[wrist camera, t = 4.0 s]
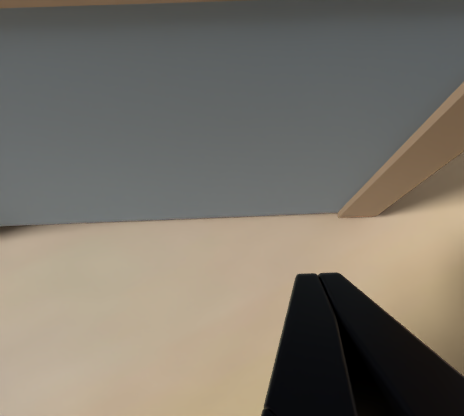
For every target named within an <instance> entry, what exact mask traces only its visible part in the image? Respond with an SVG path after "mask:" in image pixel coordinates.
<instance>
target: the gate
mask: <svg viewBox="0 0 464 416" xmlns="http://www.w3.org/2000/svg"><path fill="white" fill-rule="evenodd" d="M463 151H464V0H0V226H18V225H43V224H68V223H93V222H118V221H143V220H168V219H193V218H217V217H242V216H267V215H292V214H317V213H338V218H348V217H373V216H377V215H378V214H380V213H381V212H382V211H384V210H385V209H386V208H388V207H389V206H391V205H392V204H393V203H395V202H396V201H397V200H399V199H400V198H401V197H403V196H404V195H405V194H407V193H408V192H409V191H411V190H412V189H413V188H415V187H416V186H417V185H419V184H420V183H422V182H423V181H424V180H426V179H427V178H428V177H430V176H431V175H432V174H434V173H435V172H436V171H438V170H439V169H440V168H442V167H443V166H444V165H446V164H447V163H449V162H450V161H451V160H453V159H454V158H455V157H457V156H458V155H459V154H461V153H462V152H463Z"/></svg>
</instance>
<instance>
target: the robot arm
mask: <svg viewBox="0 0 464 416" xmlns="http://www.w3.org/2000/svg"><path fill="white" fill-rule="evenodd" d="M261 416H464V376H463V375H461V374H460V373H459V372H458V371H457V370H455V369H454V368H453V367H452V366H451V365H449V364H448V363H447V362H446V361H445V360H443V359H442V358H441V357H440V356H439V355H437V354H436V353H435V352H434V351H433V350H431V349H430V348H429V347H428V346H427V345H425V344H424V343H423V342H422V341H421V340H419V339H418V338H417V337H416V336H415V335H413V334H412V333H411V332H410V331H409V330H407V329H406V328H405V327H404V326H402V325H401V324H400V323H399V322H398V321H396V320H395V319H394V318H393V317H392V316H390V315H389V314H388V313H387V312H386V311H384V310H383V309H382V308H381V307H380V306H378V305H377V304H376V303H375V302H374V301H372V300H371V299H370V298H369V297H368V296H366V295H365V294H364V293H363V292H362V291H360V290H359V289H358V288H357V287H356V286H354V285H353V284H352V283H351V282H350V281H348V280H347V279H346V278H345V277H344V276H342V275H341V274H339V273H320V274H319V275H316V274H314V273H311V274H298V275H297V276H296V278H295V282H294V286H293V290H292V294H291V298H290V302H289V306H288V310H287V314H286V318H285V322H284V326H283V330H282V334H281V339H280V343H279V347H278V351H277V355H276V359H275V363H274V367H273V371H272V375H271V379H270V383H269V387H268V391H267V395H266V399H265V403H264V409H263V411H262V414H261Z"/></svg>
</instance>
